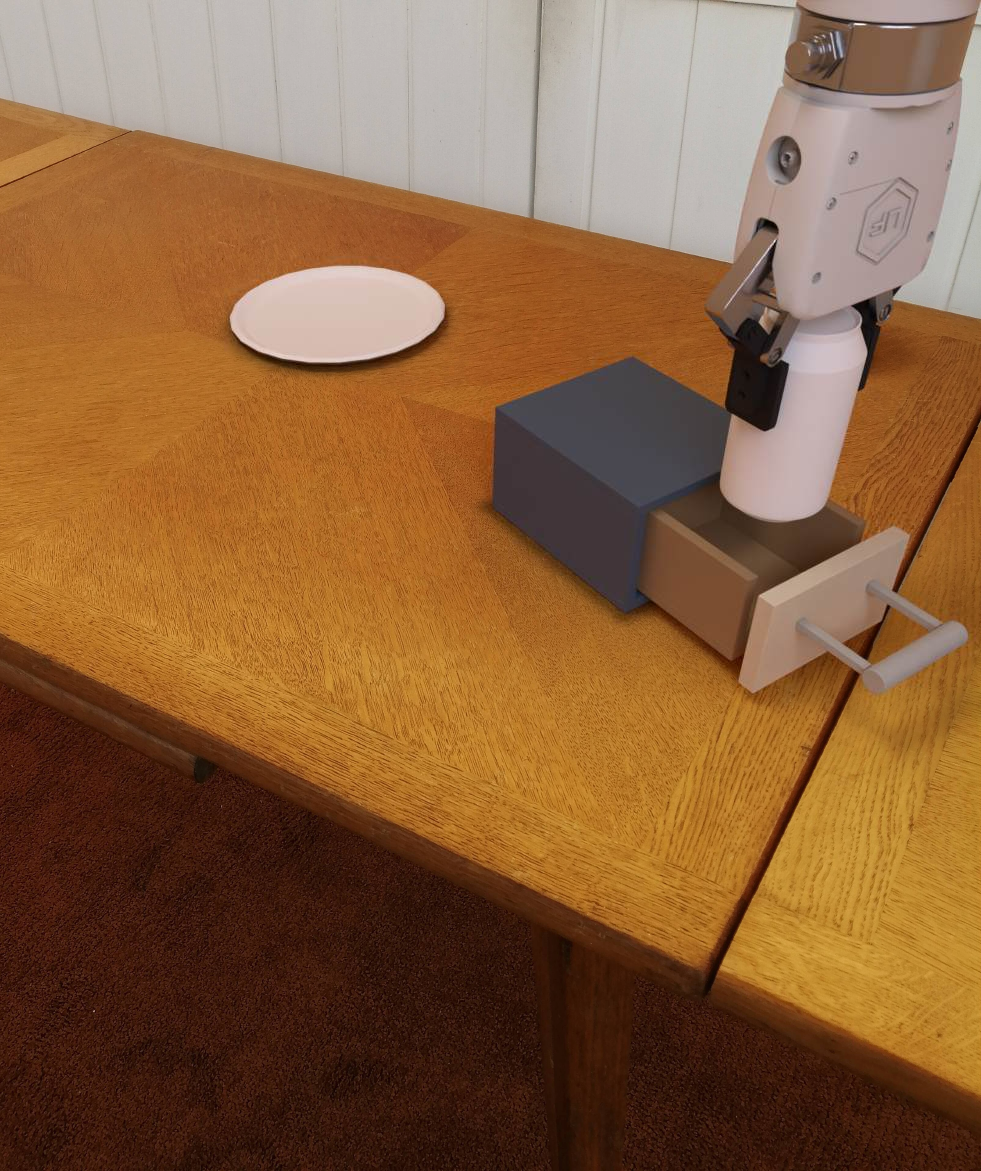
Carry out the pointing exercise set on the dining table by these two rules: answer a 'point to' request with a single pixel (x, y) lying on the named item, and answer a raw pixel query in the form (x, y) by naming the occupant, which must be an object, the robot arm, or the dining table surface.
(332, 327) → the plate
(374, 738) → the dining table surface
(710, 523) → the drawer
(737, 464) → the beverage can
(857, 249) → the robot arm
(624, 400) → the cabinet
